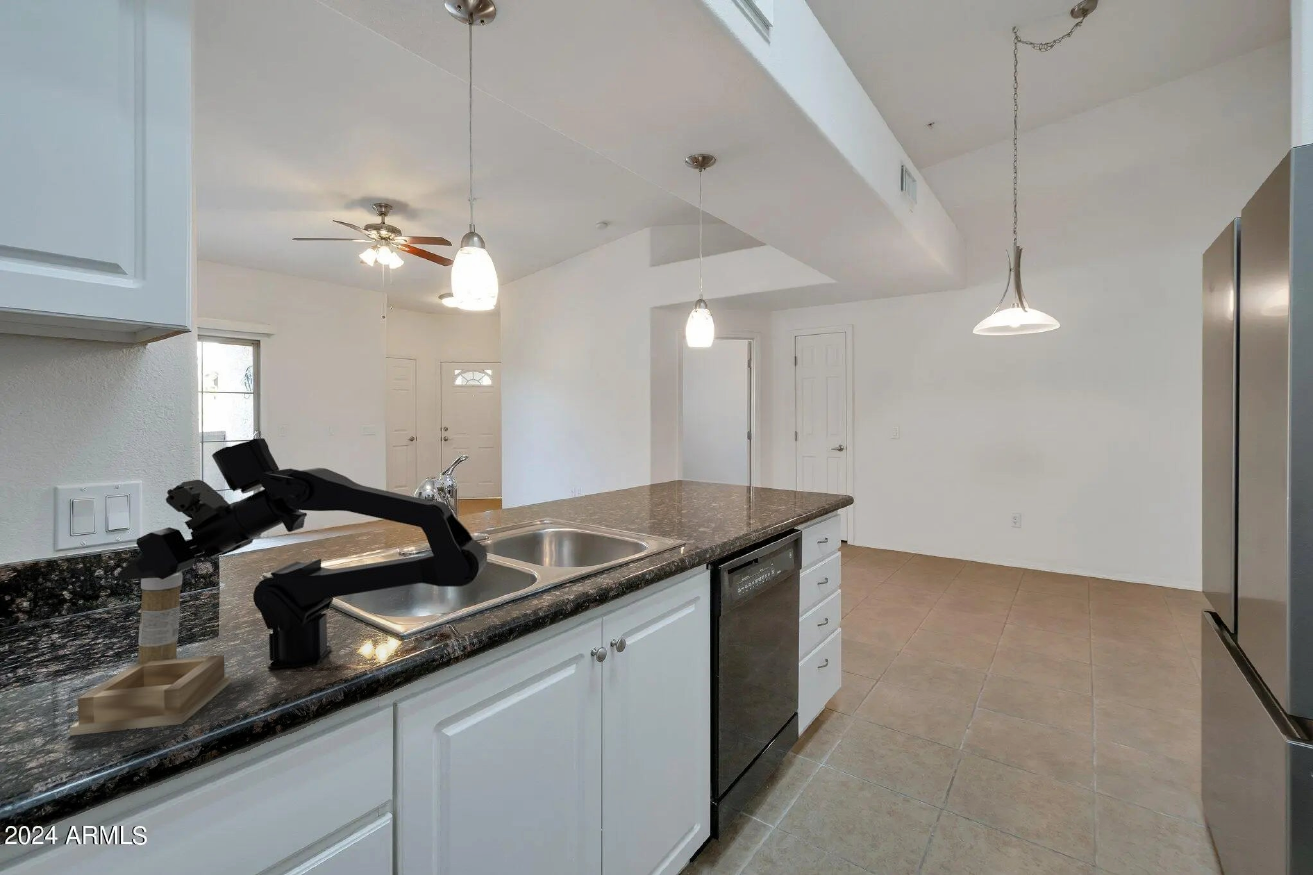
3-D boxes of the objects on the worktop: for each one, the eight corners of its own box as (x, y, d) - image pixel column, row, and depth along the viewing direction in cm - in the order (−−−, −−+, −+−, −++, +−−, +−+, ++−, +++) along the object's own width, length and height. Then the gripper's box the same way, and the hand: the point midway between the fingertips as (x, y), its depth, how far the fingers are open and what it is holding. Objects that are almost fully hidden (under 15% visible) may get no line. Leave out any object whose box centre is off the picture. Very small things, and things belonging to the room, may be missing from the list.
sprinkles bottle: (151, 658, 84) (156, 569, 84) (185, 657, 85) (190, 569, 85) (127, 670, 80) (133, 576, 80) (163, 670, 80) (168, 577, 81)
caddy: (230, 681, 77) (230, 653, 77) (182, 723, 66) (181, 690, 66) (136, 690, 74) (135, 661, 74) (70, 735, 64) (69, 701, 64)
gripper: (257, 464, 91) (163, 508, 90) (176, 476, 73) (56, 532, 71) (291, 523, 92) (199, 568, 91) (220, 551, 74) (103, 607, 72)
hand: (145, 567), depth 81 cm, fingers open, 9 cm apart
